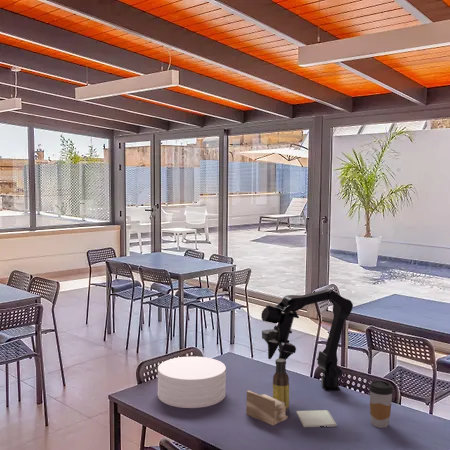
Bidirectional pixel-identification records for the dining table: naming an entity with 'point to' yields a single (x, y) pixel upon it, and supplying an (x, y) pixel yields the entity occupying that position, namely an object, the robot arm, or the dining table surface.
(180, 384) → the plate stack
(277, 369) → the sauce bottle
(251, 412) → the offcut rack
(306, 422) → the cream tile board
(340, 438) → the dining table surface
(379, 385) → the coffee cup
